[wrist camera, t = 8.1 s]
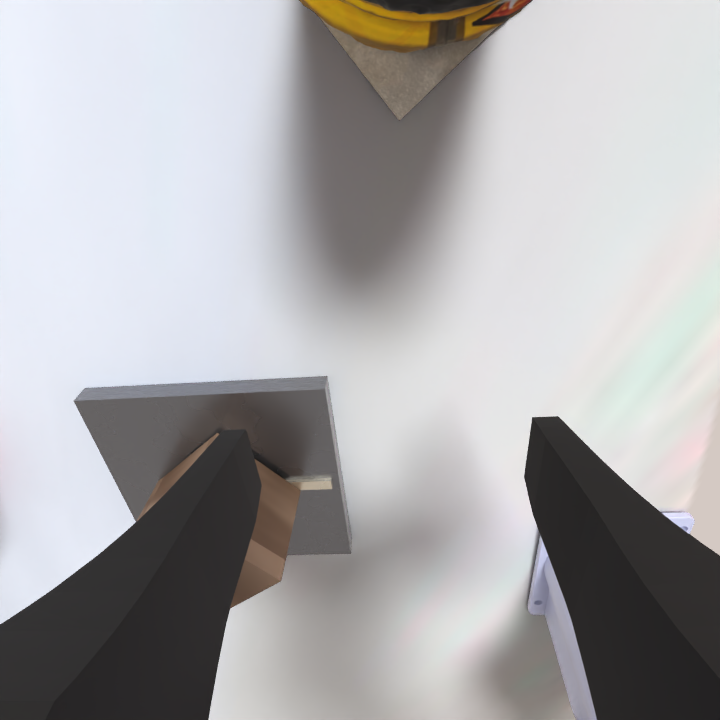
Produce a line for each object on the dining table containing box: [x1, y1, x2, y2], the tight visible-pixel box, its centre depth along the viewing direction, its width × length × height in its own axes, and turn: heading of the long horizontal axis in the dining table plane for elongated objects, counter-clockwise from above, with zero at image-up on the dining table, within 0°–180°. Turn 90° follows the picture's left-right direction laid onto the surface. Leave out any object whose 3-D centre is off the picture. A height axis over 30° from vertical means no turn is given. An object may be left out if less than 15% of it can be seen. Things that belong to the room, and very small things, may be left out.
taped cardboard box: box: [137, 433, 300, 608], centre depth 23 cm, size 5×5×6 cm
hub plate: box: [74, 376, 352, 555], centre depth 25 cm, size 12×12×4 cm
